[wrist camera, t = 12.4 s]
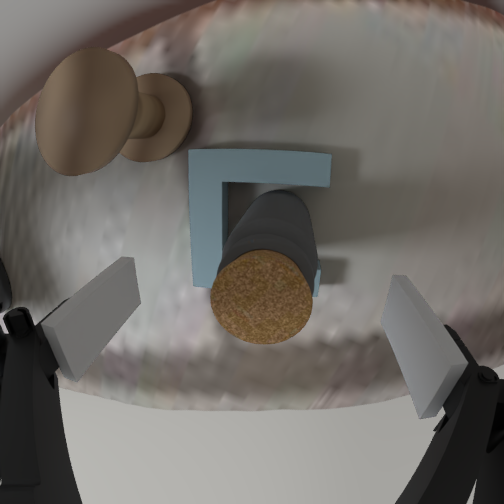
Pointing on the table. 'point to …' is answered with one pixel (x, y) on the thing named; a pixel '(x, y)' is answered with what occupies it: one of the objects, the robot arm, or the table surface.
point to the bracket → (216, 194)
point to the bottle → (267, 271)
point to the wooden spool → (108, 113)
